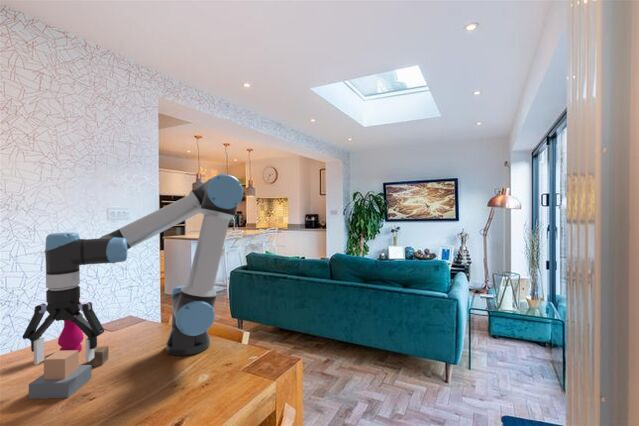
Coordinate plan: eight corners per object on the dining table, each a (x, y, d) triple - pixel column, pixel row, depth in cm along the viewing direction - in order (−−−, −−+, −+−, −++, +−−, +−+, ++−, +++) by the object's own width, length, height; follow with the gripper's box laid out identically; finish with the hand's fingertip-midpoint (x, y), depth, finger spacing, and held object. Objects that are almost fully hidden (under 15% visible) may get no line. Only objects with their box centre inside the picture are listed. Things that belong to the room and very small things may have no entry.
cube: (78, 368, 94) (78, 350, 94) (64, 378, 88) (65, 358, 88) (58, 369, 93) (58, 350, 93) (43, 379, 88) (43, 359, 88)
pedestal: (91, 378, 96) (91, 364, 96) (68, 397, 86) (68, 382, 86) (55, 379, 95) (56, 365, 95) (28, 398, 85) (28, 383, 85)
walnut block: (93, 360, 108) (108, 359, 109) (86, 366, 103) (102, 365, 104) (93, 346, 108) (108, 346, 109) (87, 352, 103) (102, 351, 104)
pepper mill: (55, 357, 109) (55, 299, 109) (60, 349, 115) (61, 294, 115) (81, 353, 112) (82, 297, 112) (85, 345, 118) (85, 292, 118)
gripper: (116, 282, 96) (117, 352, 96) (26, 285, 93) (28, 356, 94) (102, 289, 88) (103, 365, 89) (4, 291, 86) (5, 369, 86)
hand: (64, 361), depth 91 cm, fingers open, 13 cm apart
